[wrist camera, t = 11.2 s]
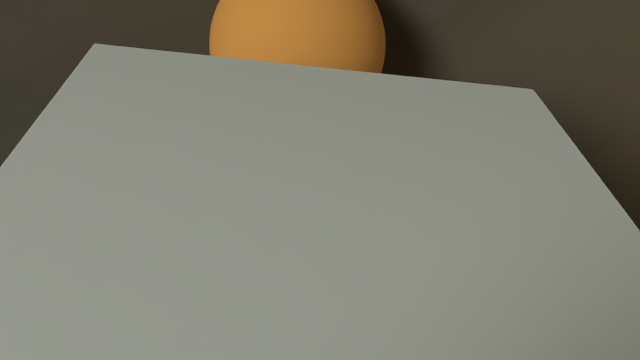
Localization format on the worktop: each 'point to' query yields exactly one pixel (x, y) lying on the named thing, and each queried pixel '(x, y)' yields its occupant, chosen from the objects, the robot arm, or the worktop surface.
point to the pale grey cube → (305, 220)
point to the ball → (301, 33)
